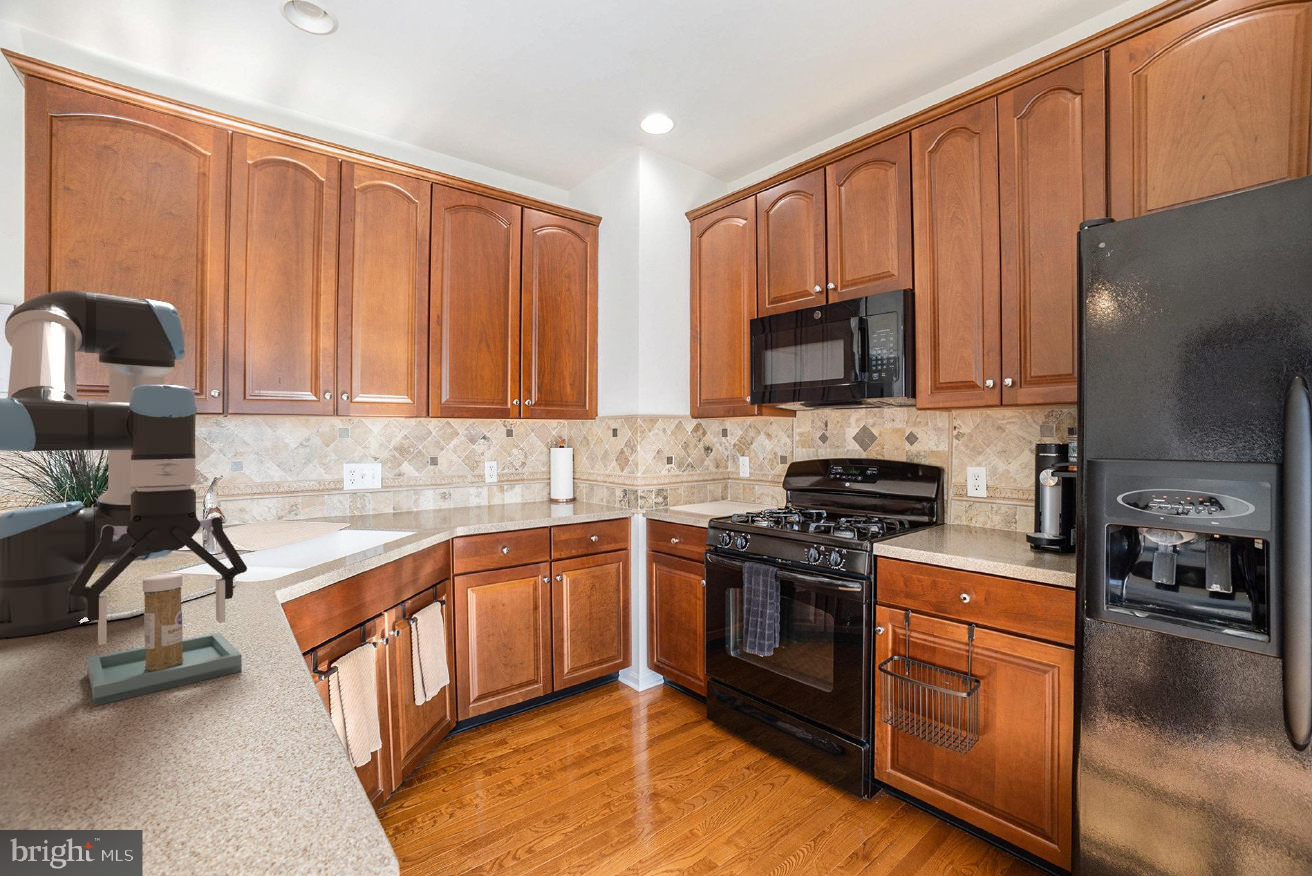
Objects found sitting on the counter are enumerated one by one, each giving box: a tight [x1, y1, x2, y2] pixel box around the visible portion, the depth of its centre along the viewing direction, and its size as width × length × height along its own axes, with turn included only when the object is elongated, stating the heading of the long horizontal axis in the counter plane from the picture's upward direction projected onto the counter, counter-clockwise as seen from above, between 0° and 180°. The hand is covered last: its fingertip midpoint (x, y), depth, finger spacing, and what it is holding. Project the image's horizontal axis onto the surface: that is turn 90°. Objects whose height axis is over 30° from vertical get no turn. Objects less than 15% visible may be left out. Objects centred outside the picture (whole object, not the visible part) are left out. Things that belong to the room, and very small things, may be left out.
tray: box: [87, 632, 243, 707], centre depth 88 cm, size 16×16×2 cm
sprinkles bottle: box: [142, 573, 184, 671], centre depth 88 cm, size 5×5×14 cm
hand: (164, 631), depth 88 cm, fingers open, 13 cm apart
